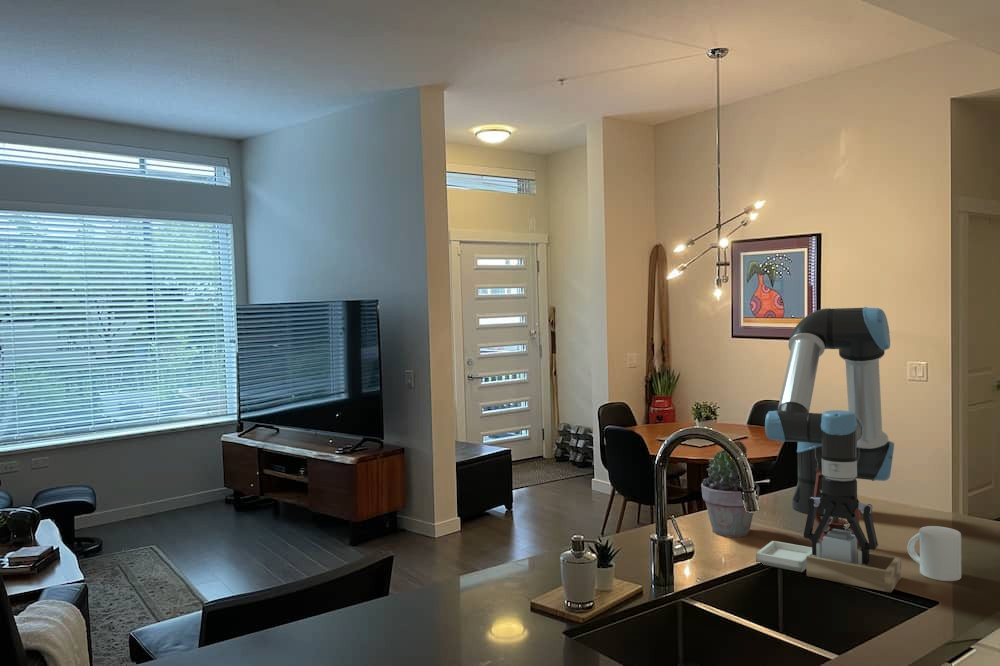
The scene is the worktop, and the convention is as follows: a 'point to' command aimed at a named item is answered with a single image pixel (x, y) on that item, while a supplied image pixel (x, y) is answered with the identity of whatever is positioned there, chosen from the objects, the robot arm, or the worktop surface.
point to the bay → (858, 571)
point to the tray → (784, 555)
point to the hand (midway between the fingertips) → (840, 572)
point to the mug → (938, 552)
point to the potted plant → (726, 496)
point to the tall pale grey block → (840, 546)
